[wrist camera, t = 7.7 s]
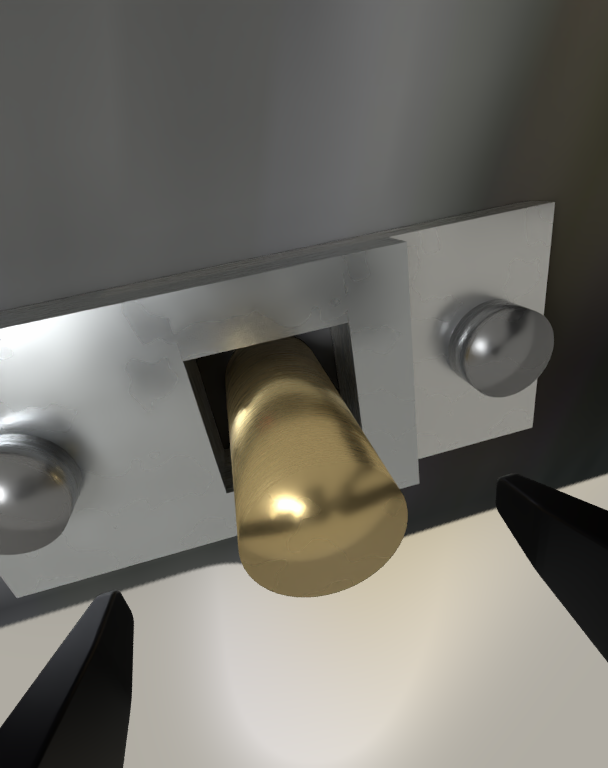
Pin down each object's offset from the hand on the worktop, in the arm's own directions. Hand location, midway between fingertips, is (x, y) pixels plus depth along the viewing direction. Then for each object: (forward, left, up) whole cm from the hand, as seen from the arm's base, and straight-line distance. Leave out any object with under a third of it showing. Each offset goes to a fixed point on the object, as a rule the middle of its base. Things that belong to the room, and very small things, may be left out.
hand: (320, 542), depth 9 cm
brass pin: (0, 0, -9) cm, 9 cm away
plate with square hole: (0, 0, -9) cm, 9 cm away
